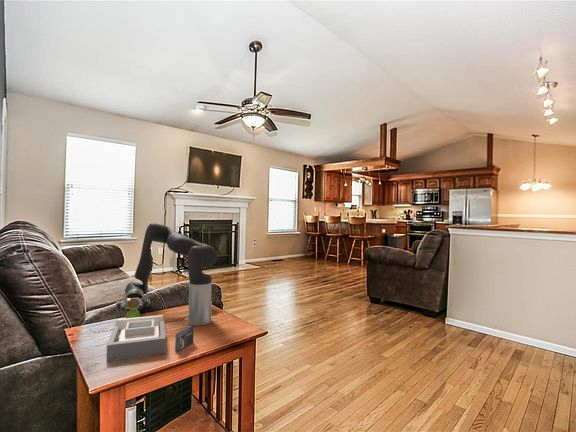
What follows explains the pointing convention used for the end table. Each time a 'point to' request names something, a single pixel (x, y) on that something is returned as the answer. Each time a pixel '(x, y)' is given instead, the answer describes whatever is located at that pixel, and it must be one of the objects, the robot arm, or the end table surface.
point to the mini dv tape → (184, 339)
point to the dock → (135, 345)
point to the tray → (139, 327)
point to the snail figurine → (132, 307)
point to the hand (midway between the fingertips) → (131, 308)
